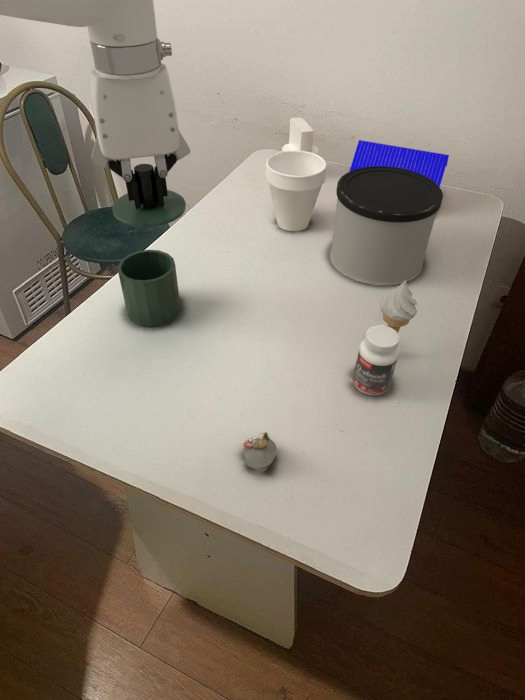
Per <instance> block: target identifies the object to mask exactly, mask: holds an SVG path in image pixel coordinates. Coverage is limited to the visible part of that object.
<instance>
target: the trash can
mask: <svg viewBox="0 0 525 700" xmlns="http://www.w3.org/2000/svg"><path fill="white" fill-rule="evenodd" d="M175 262H176V261H175V259H174V257H172V256H171V255H170V254H169V253H168V252H164V251H162V250H159V249H143V250H137V251H135V252H132V253H129V254H127V255H126V256H124V257H123V258H122V259H121V260H120V261H119V263H118V264H117V273H118V278H119V283H120V287H121V291H122V297H123V301H124V304H125V308H126V314H127V316H128V318H129V320H130V321H131V322H132V323H133V324H134V325H137V326H140V327H144V328H158V327H162V326H165V325H168V324H169V323H171V322H173V321H174V320H175V319H176V318H177V317H178V316H179V314H180V313H181V300H180V291H179V284H178V275H177V268H176V263H175Z"/></svg>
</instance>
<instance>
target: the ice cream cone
mask: <svg viewBox="0 0 525 700" xmlns="http://www.w3.org/2000/svg"><path fill="white" fill-rule="evenodd" d="M418 305H419V303H418V302H417V300H416V299H415V298H413V292H412V291H411V290H410V288H409V286H408V281H407V282H406V280H405V281H404V282H403V283H401V284H399V285H398V286H397V287H396V288H394V289H393V290H391V291H389V292H388V293H386V294H385V295H384V296H383V297H381V299H380V311H381V313H382V319H383V321H384V322H385V323H386V324H387V326H388V327H390V328H392V329H394V330H395V331H396V332H397V333H398V334H399V332H400V330H401V327H405V326H407V325H408V324H409V323H410V321H411V320H412V319H413V318H415V317H416V315H417V313H418V312H419V311H418V309H417V307H416V306H418Z"/></svg>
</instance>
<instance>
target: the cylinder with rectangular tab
mask: <svg viewBox="0 0 525 700" xmlns="http://www.w3.org/2000/svg"><path fill="white" fill-rule="evenodd" d="M314 133H315V131H314V129H313V127H311V125H310V124H309V123H308V122H307V121H306V120H305V119H304V118H303V117H300V116H299V117H298V116H297V117H291V118H289V135H288V139H289V140H288V143H285V144H284V145H283V146H282V147H281V152H283V151H290V150H299V151H307V152H311V153H314V154H317V155H319V148H318V147H317V146H316V145H315V144H314V135H315V134H314Z"/></svg>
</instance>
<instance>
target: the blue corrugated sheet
mask: <svg viewBox="0 0 525 700" xmlns="http://www.w3.org/2000/svg"><path fill="white" fill-rule="evenodd" d="M449 158H450V154H445V153H439V152H433V151H427V150H422V149H415V148H409V147H404V146H398V145H391V144H387V143H386V144H385V143H380V142H372V141H367V140H362V139H358V141H357V145H356V149H355V152H354V156H353V158H352V163H351V165H350V168H349V171H348V172H350V171H352V170H355V169H359V168H364V167H372V166H388V167H397V168H402V169H407V170H411V171H414V172H417V173H419V174H422V175H424V176H426V177H428V178H430V179H431V180H433V181H434V182H435V183H436V184H437V185H438V186H439V187H440V188H441V185H442V181H443V178H444V173H445V170H446V167H447V166H448V162H449Z"/></svg>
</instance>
